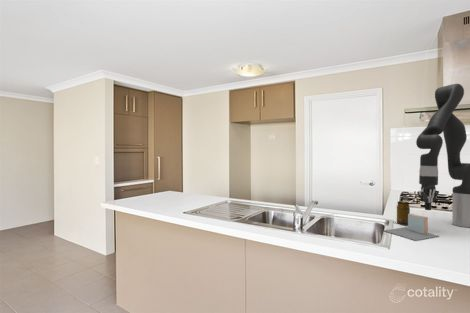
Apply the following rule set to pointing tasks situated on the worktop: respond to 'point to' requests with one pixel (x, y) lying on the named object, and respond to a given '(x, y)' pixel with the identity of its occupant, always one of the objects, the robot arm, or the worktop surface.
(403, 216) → the condiment
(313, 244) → the worktop surface
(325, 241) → the worktop surface
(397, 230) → the mat
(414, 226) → the tile
